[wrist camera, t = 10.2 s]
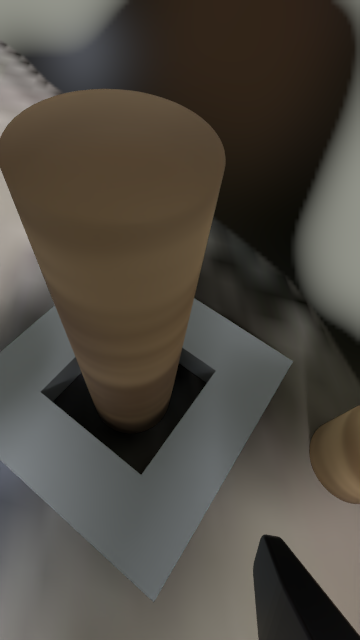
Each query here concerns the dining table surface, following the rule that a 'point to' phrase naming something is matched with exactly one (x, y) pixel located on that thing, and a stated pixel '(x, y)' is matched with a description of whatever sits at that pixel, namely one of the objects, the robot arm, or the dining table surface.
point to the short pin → (338, 455)
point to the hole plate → (109, 469)
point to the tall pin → (117, 233)
